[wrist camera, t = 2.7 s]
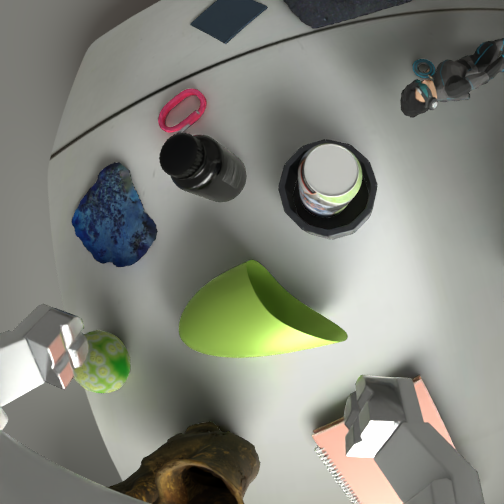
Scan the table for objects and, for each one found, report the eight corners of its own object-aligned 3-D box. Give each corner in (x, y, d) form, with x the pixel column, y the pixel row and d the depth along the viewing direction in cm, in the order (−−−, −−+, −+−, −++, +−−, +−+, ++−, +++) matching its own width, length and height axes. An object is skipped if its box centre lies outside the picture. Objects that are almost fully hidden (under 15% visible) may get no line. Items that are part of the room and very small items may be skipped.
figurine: (554, 42, 20) (421, 97, 25) (541, 81, 28) (416, 147, 33) (500, 1, 25) (358, 43, 30) (494, 40, 33) (365, 92, 38)
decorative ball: (91, 344, 50) (49, 355, 41) (120, 314, 48) (75, 323, 38) (120, 392, 48) (80, 411, 39) (154, 367, 46) (112, 386, 36)
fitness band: (170, 141, 46) (165, 138, 44) (157, 117, 47) (151, 113, 45) (213, 109, 44) (208, 104, 42) (196, 85, 45) (192, 81, 43)
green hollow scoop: (299, 242, 30) (145, 306, 37) (346, 353, 31) (191, 392, 38) (310, 231, 37) (177, 288, 45) (348, 323, 38) (215, 363, 45)
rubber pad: (229, -9, 44) (229, -10, 44) (267, 7, 42) (267, 6, 41) (191, 25, 46) (190, 23, 46) (225, 44, 44) (224, 42, 43)
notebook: (306, 432, 38) (304, 439, 36) (419, 374, 34) (422, 379, 32) (380, 536, 33) (380, 544, 31) (474, 494, 29) (476, 501, 27)
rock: (122, 155, 48) (114, 153, 47) (167, 239, 45) (160, 238, 44) (72, 211, 52) (65, 210, 50) (108, 292, 49) (100, 293, 47)
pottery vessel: (181, 490, 44) (117, 554, 26) (144, 445, 47) (67, 498, 28) (297, 446, 39) (253, 544, 20) (251, 389, 41) (178, 467, 22)
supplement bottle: (223, 145, 43) (180, 111, 32) (258, 174, 41) (221, 145, 30) (192, 182, 44) (141, 160, 33) (223, 214, 43) (177, 198, 31)
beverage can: (298, 175, 40) (275, 143, 28) (355, 166, 38) (354, 129, 26) (305, 224, 39) (284, 209, 28) (364, 215, 37) (368, 196, 26)
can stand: (328, 138, 39) (324, 122, 34) (390, 194, 36) (395, 185, 31) (271, 196, 41) (260, 188, 36) (331, 256, 38) (328, 255, 34)
